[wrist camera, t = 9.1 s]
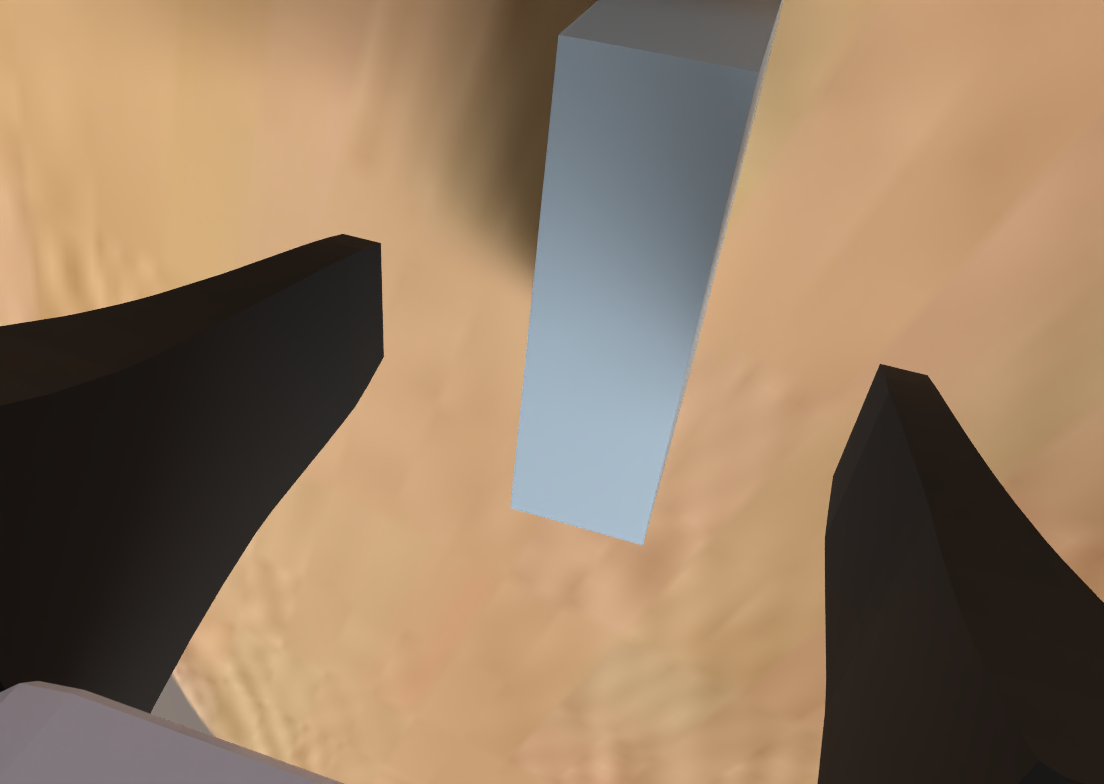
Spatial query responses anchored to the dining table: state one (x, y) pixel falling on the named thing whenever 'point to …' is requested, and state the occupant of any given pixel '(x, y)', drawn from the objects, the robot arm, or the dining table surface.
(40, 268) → the dining table surface
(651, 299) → the block
